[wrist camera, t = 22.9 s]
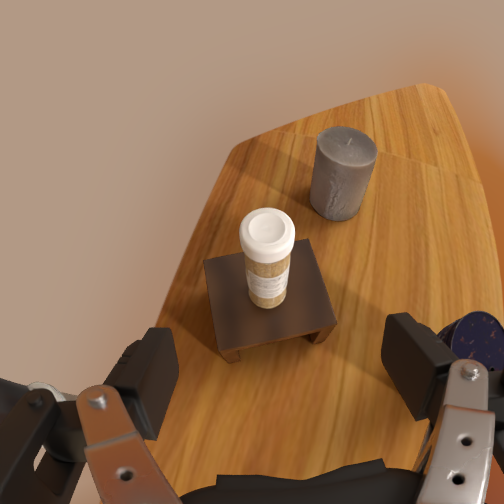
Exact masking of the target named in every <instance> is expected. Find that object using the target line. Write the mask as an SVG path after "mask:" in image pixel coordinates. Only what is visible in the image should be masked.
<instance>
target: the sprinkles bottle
mask: <svg viewBox="0 0 504 504" xmlns="http://www.w3.org/2000/svg"><path fill="white" fill-rule="evenodd" d="M239 236H240V243H241V247H242V249H243V251H244V256H245V264H246V275H247V282H248V286H249V296H250V298H251V300H252V301H253V302H254V304H256V305H257V306H259V307H262V308H266V309H268V308H274V307H276V306H278V305H279V304H280V303H282V301H283V300H284V298H285V296H286V286H287V281H288V274H289V266H290V253H291V250H292V248H293V245H294V237H295V228H294V224H293V222H292V220H291V219H290V217H289V216H288V215H287V214H285V213H284V212H282V211H280V210H278V209H274V208H260V209H257V210H254V211H252V212H250V213H249V214H248V215H247V216H246V217H245V218H244V219H243V221H242V222H241V225H240V228H239Z"/></svg>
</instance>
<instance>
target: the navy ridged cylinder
mask: <svg viewBox="0 0 504 504" xmlns="http://www.w3.org/2000/svg"><path fill="white" fill-rule="evenodd" d="M437 337H439V338H440V339H441V340H442V343H443V342H444V343H445V344H446V345H447V346H448V347H449V348H450V349H451V350H452V352H453V353H454V354H455V355H456V356H457V357H458V358H459V359H471V360H475V361H478V362H480V363H481V364H483V365H484V366H485V367H486V369H487V371H488V372H489V371H501V370H503V368H504V329H503V327H502V325H501V324H500V322H499V321H498V320H497V319H496V318H495V317H494V316H492V315H491V314H489V313H487V312H484V311H473V312H471V313H468V314H467V315H465V316H464V317H462V318H461V319H458V320H456V321H455V322H453V323H451V324H450V325H448V326H446V327H445V328H443V329H442V330H441V331H440V332H439V333H438V335H437Z"/></svg>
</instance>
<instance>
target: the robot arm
mask: <svg viewBox="0 0 504 504" xmlns="http://www.w3.org/2000/svg"><path fill="white" fill-rule="evenodd" d="M381 359H382V363H383V365H384V367H385V369H386V370H387V372H388V374H389V376H390V377H391V379H392V381H393V382H394V384H395V386H396V387H397V389H398V391H399V393H400V394H401V396H402V398H403V400H404V401H405V403H406V405H407V407H408V408H409V410H410V412H411V414H412V416H413V417H414V419H415V421H419V420H423V419H426V418H428V419H429V420H430V422H429V424H428V427H427V429H426V432H425V436H424V439H423V442H422V445H421V448H420V450H419V453H418V456H417V459H416V461H415V464H414V466H413V469H412V471H410V470H405V469H398V468H386V467H385V464H384V462H383V459H382V458H381V459H377V460H372V461H368V462H363V463H358V464H353V465H348V466H343V467H341V468H338V469H336V470H333V471H330V472H327V473H325V474H322V475H319V476H316V477H313V478H310V479H306V480H293V479H284V478H277V477H270V476H263V475H217V479H216V485H214V486H208V487H204V488H200V489H197V490H194V491H191V492H189V493H187V494H185V495H182V496H181V497H178V496H177V494H176V493H175V491H174V490H173V488H172V487H171V485H170V484H169V482H168V481H167V479H166V478H165V476H164V474H163V473H162V471H161V470H160V468H159V466H158V465H157V463H156V461H155V460H154V458H153V456H152V455H151V453H150V451H149V450H148V448H147V446H146V444H145V443H144V439H147V440H155V441H157V438H158V435H159V432H160V429H161V426H162V423H163V420H164V417H165V414H166V411H167V408H168V405H169V402H170V399H171V396H172V394H173V391H174V388H175V385H176V382H177V379H178V375H179V364H178V359H177V355H176V350H175V345H174V340H173V335H172V331H171V329H170V328H149V329H148V331H147V332H146V334H145V335H144V337H143V338H142V340H137V341H135V342H134V343H132V344H131V345H129V346H128V347H127V348H126V350H125V351H124V353H123V354H122V357H120V359H119V360H118V362H117V364H116V365H115V366H114V368H113V369H112V371H111V372H110V374H109V375H108V377H107V378H106V380H105V381H104V383H103V384H102V385H95V386H91V387H89V388H87V389H85V390H84V391H82V392H81V393H80V394H79V395H78V397H77V399H76V401H58V402H57V401H56V399H55V397H54V395H53V393H52V392H51V391H50V390H48V389H45V388H33V387H31V386H28V385H27V386H25V385H21V384H17V383H14V382H11V381H7V380H4V379H1V378H0V504H69V503H70V501H71V498H72V495H73V493H74V490H75V488H76V485H77V483H78V480H79V478H80V475H81V473H82V470H83V468H84V466H85V463H86V462H88V465H89V468H90V471H91V474H92V477H93V480H94V482H95V485H96V488H97V490H98V493H99V495H100V498H101V500H102V503H103V504H487V503H484V501H485V496H486V491H487V486H488V480H489V474H490V468H491V461H492V454H493V455H494V457H495V459H496V461H497V463H498V464H499V466H500V468H501V470H502V472H503V474H504V368H503V370H501V371H489V372H488V371H487V369H486V367H485V366H484V365H483V364H481V363H480V362H478V361H475V360H471V359H459V358H458V357H457V356H456V355H455V354H454V353H453V352H452V350H451V349H450V348H449V347H448V346H447V345H446V344H445V343H444V342H443V343H442V340H441V339H440V338H439V337H437V335H436V334H435V333H434V332H433V331H432V330H431V329H430V328H429V327H427V326H425V325H423V324H421V323H417V322H416V321H415V320H414V319H413V318H412V317H411V315H410V314H409V313H407V312H404V313H397V314H389V315H388V316H387V318H386V322H385V329H384V336H383V342H382V348H381ZM42 445H43V447H44V448H45V449H46V452H45V454H44V456H43V458H42V459H41V462H40V463H39V465H38V467H37V469H36V471H34V466H33V464H34V459H35V457H36V456H37V454H38V452H39V450H40V448H41V447H42Z"/></svg>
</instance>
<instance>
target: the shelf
mask: <svg viewBox="0 0 504 504" xmlns="http://www.w3.org/2000/svg"><path fill="white" fill-rule="evenodd" d="M203 262H204V269H205V275H206V282H207V288H208V294H209V300H210V306H211V312H212V318H213V324H214V330H215V335H216V341H217V347H218V351H219V352H220V354H221V355H222V356H223V357H224V359H225V360H226V361H227V362H228V363H233V362H238V361H241V360H240V355H239V350H241V349H246V348H251V347H256V346H260V345H265V344H269V343H274V342H278V341H282V340H287V339H291V338H295V337H299V336H303V335H307V334H310V337H311V341H312V344H316V343H319V342H323V341H325V339H326V338H327V337H328V335H329V334H330V333H331V331H332V330H333V329H334V327H335V326H336V325H337V321H336V318H335V315H334V311H333V308H332V305H331V302H330V299H329V296H328V293H327V290H326V287H325V284H324V281H323V278H322V275H321V273H320V270H319V267H318V264H317V261H316V258H315V255H314V253H313V250H312V247H311V244H310V241H309V239H303V240H299V241H294V245H293V248H292V250H291V253H290V266H289V274H288V281H287V286H286V296H285V298H284V300H283V301H282V303H280V304H279V305H278V306H276V307H274V308H268V309H266V308H262V307H259V306H257V305H256V304H254V302H253V301H252V300H251V298H250V296H249V286H248V282H247V275H246V264H245V256H244V252H241V253H236V254H231V255H226V256H221V257H217V258H212V259H207V260H203Z"/></svg>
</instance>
